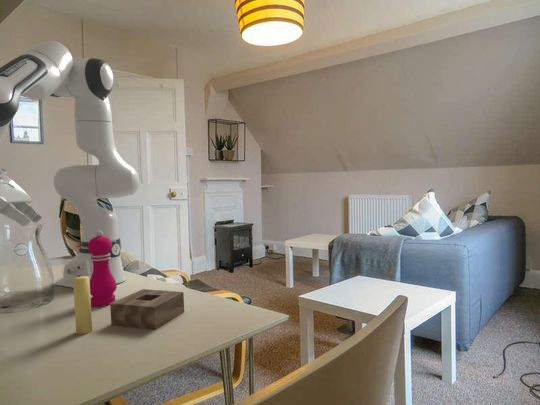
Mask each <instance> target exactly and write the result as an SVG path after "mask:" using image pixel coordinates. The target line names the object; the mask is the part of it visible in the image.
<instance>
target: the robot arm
mask: <svg viewBox="0 0 540 405" xmlns="http://www.w3.org/2000/svg"><path fill="white" fill-rule="evenodd" d="M113 72H114V71H113V70H112V68H111V66H110V65H109V63H108V62H106V60H104V59H99V58H95V57H90V58H86V57H84V58H83V57H73V56H72V53H71V52H70V51H69V49H68V48H67V47H66V46H65V45H64V44H62V43H60V42H58V41H56V40H44V41H42V42H38V43H36V44H34V45H32V46H30V47H29V48H27V49H25V50H24V51H23V52H21V53H20V54H19V55H17V56H16V57H15V58H13V59H12V60H10V61H9V62H7V63H5V64H4V65H2V66H1V67H0V144H1V143H2V140H3V139H4V136H5V134H6V132H7V131H8V128H9V126H10V124H11V122H12V120H13V119H14V117H15V115H16V114H17V112H18V110H19V108H20V107H19V106H20V97H22V96H24V97H25V98H28V99H31V100H37V101H41V100H44V99H46V98H48V97H54V98H60V97H62V98H74V127H75V138H76V139H75V141H76V145H77V147H78V148H79V149H80V150H81V151H83V153H85V154H89V155H92V156H94V157H95V158H96V159H97V160H98V164H85V165H84V164H83V165H80V164H79V165H77V164H76V165H71V166H65V167H60V168H58V170H57V171H56V173H55V175H54V177H53V187H54V189H55V191H56V193H57V194H58V195H59V196H60V197H61V198H63V199H65V200H66V201H67V202H68V203H69V204H71V205H72V207H73V208H74V209H75V211H76V212H77V214H78V216H79V220H80V225H81V232H82V233H81V234H82V236H81V237H82V241H81V242H79V243H76V244H75V245H76V248H79V250H78V253H77V254H76V255H74V257H72V258H71V259H70V260H69V261H68V262H67V263H66V264H65V265H64V266H63V267H64V268H63V275H62V278H60V279H58V280H56V281H55V285H56V286H61V287H67V288H71V289H72V288H73V289H74V285H73V278H76V277H81V276H89V281H90V279H91V276H92V274H93V261H92V260H91V255H92V253H91V252H90V251H89V250H88V243H89V241H90V240H91V239H92V238H94V237H97V236H96V232H97V231H102V232H103V235H102V236H105V237H107V238H109V239H110V240H111V242H112V248H111V250H110V251H109V253H110V254H111V255H110V257H111V258H110V259H109V268H110V271H111V273H112V275H113V277H114V279H115V281H116V285H117V284H120V283H123V282H125V281H126V280H127V277H126V274H125V271H124V268H123V262H122V257H121V256H122V255H121V251H122V250H121V249H122V245H121V244H122V242H121V238H120V236H119V234H120V233H119V232H120V231H119V219H118V216H117V214H116V213H115V212H114V211H112V210H111V209H110V210H109V209H107V208H105V207H102V206H100V204H98V199H111V198H113V199H114V198H123V197H128V196H130V195H134V194H135V193H136V192H137V190H138V189H139V186H140V176H139V173H138V172H137V170H136V169H135V168H134V167H133V166H132V165H130V164H129V163H128V162H126V161H125V160H124V159H123V158H122V157H121V155H120V154H119V152H118V150H117V147H116V144H115V142H116V141H115V138H114V137H115V136H114V128H113V116H112V108H111V105H110V104H111V103H110V100H109V99H110V98H109V94H110V93H111V92H112V90H113V88H114V85H115V76H114V73H113ZM7 174H8V172H7V171H6V170H5V169H4V168H3V167H1V166H0V214H1V215H4V216H5V217H6V218H7V219H10V220H12V221H14V222H16V223H17V224H19V225H20V226H22V227H26V226H28V225H29V224H30V223H31V222H32V223H34V224H35V223H39V222H40V221H41V220H42V219H43V216H42V215H41V214H40V213H38V211H37V210H36V209H35V208H34V207H33V206H32V205H31V204H30V203H31V202H32V197H31V196H30V195H29V194H28V193H27V192H26V191H25V190H24V189H23V188H22V187H20V185H18V184H17V183H16V182H15V181H14V180H13V179H12V178H10V177H9V175H7Z"/></svg>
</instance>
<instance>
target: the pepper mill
mask: <svg viewBox="0 0 540 405" xmlns="http://www.w3.org/2000/svg"><path fill="white" fill-rule="evenodd" d="M102 235H103V232H102V231H97V232H96V236H97V237H94V238H92V239H91V240H90V241H89V243H88V250H89V251H90V252H91V253H92V255H91V260H92V261H93V274H92V276H91V279H90V299H91V307H97V308H98V307H106V306H110V303H112V302H114V301H116V294H114V293H115V291H116V290H117V284H116V281H115V279H114V277H113V275H112V273H111V271H110V268H109V259H110V258H111V257H110V255H111V254H110V253H109V251H110V250H111V248H112V242H111V240H110V239H109V238H107V237H105V236H102Z"/></svg>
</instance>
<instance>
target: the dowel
mask: <svg viewBox="0 0 540 405" xmlns="http://www.w3.org/2000/svg"><path fill="white" fill-rule="evenodd" d="M73 285H74V288H73V298H74V300H73V301H74V315H75V320H74V321H75V334H76V335H86V334H89V333H91V332H92V331H93V321H92V320H93V318H92V305H91V294H90V281H89V276H81V277H76V278H73Z"/></svg>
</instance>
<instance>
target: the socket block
mask: <svg viewBox="0 0 540 405" xmlns="http://www.w3.org/2000/svg"><path fill="white" fill-rule="evenodd" d="M184 296H185V295H184V291H173V290H161V289H160V290H159V289H145V288H143V289H140V290H138V291H136V292H133V293H131V294H129V295H126V296H124V297H122V298H119V299H116V300H115V301H114V302H112V303H110V305H109V308H110V321H111V322H110V325H112V326H123V327H129V328H140V329H148V330H158V329H159V328H160V327H162V326H164V325H165V324H167V323H168V322H170V321H172V320H174V319H175V318H176V317H178V316H180V315H181V314H183V313H185V300H184V299H185V297H184Z"/></svg>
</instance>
